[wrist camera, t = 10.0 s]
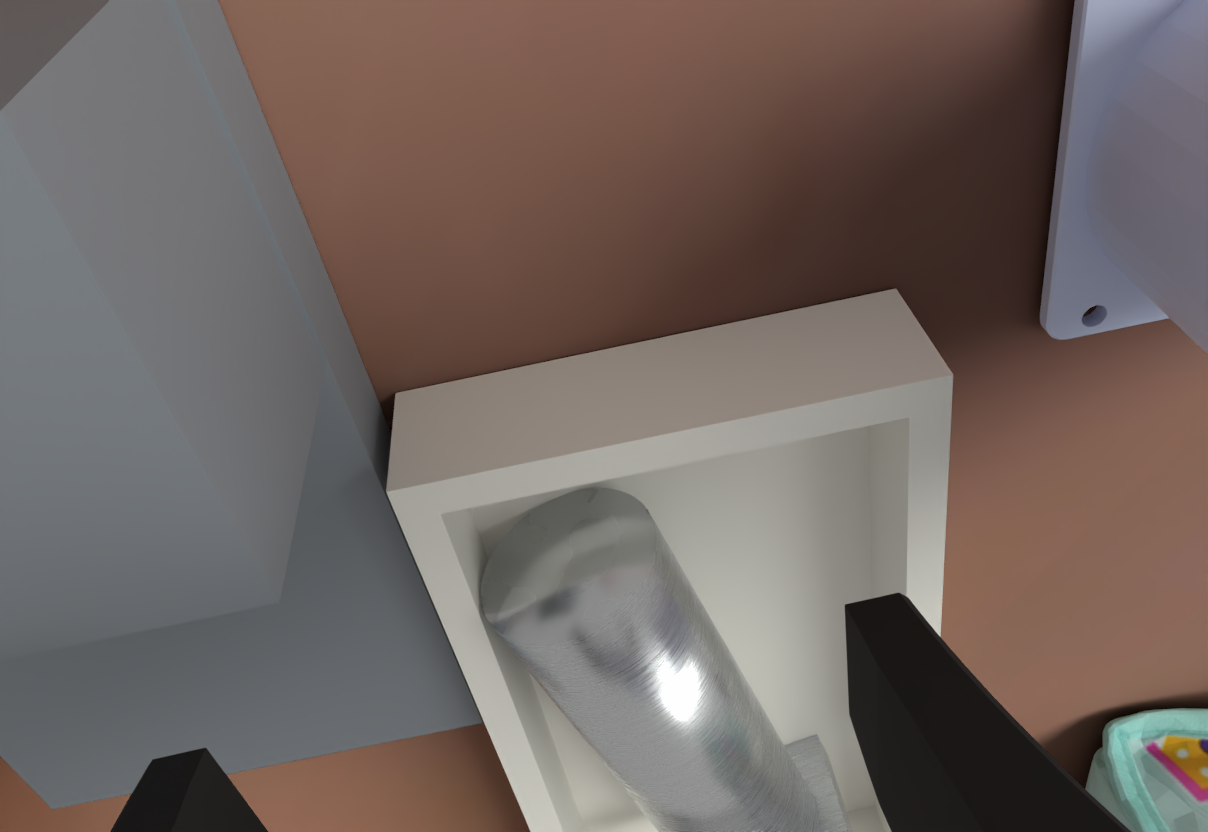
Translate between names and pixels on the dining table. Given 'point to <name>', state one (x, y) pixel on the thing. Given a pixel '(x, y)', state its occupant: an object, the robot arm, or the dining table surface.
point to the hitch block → (183, 429)
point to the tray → (696, 513)
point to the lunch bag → (1154, 770)
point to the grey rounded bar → (649, 672)
